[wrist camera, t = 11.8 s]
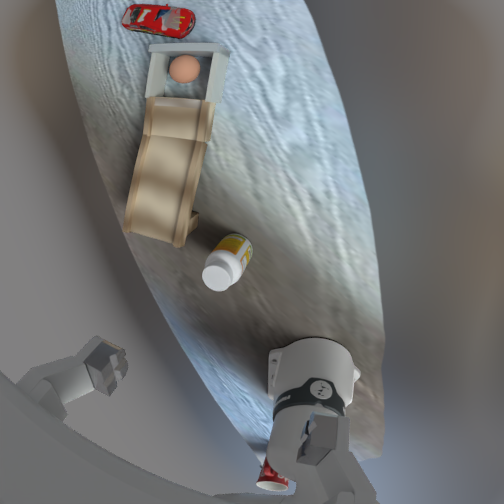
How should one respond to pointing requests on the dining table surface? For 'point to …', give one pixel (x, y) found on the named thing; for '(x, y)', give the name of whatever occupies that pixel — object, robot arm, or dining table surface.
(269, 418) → the dining table surface
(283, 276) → the dining table surface
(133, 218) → the ramp
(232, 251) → the supplement bottle
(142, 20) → the race car
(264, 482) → the mug
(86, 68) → the dining table surface
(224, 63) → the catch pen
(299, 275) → the dining table surface
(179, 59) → the ball
